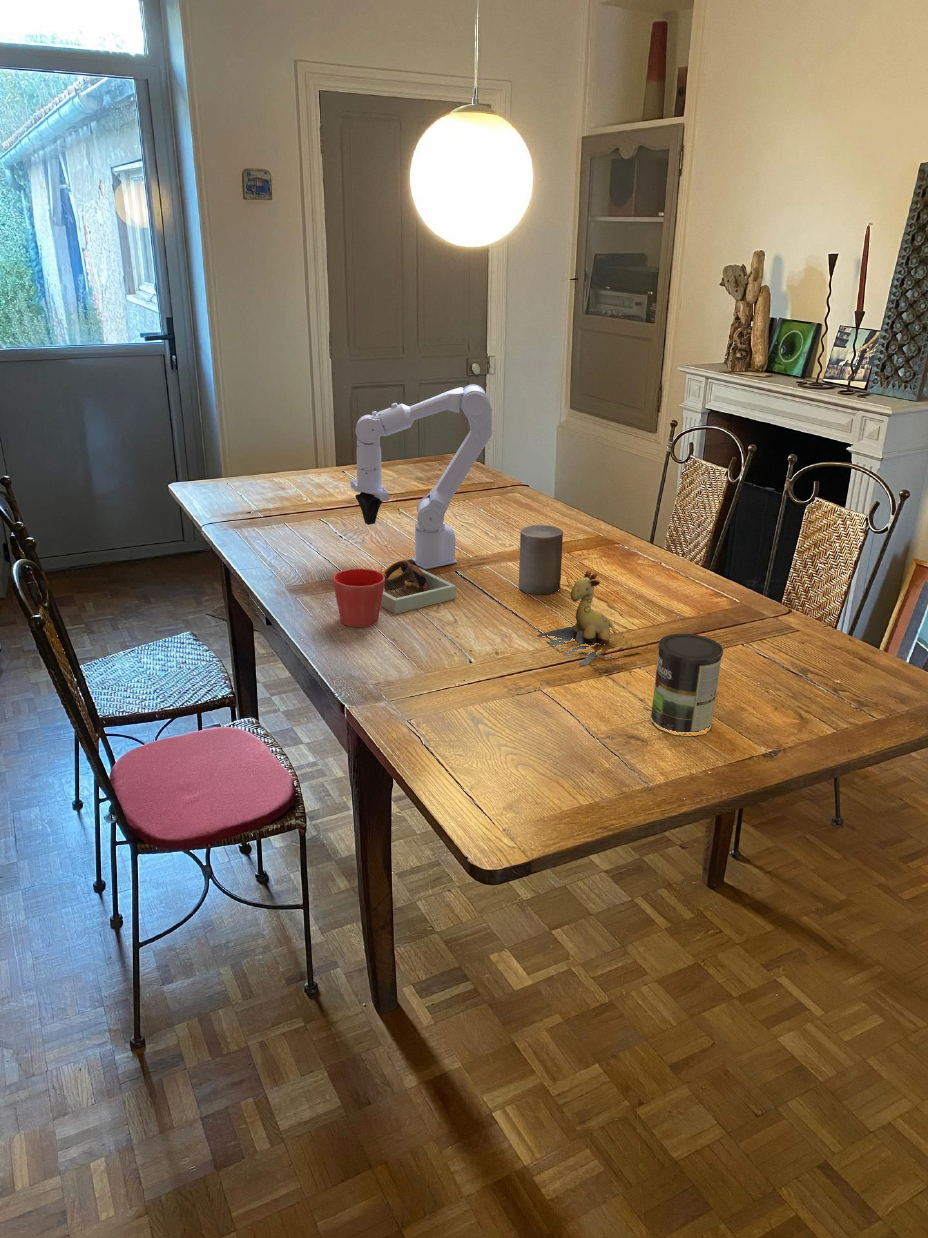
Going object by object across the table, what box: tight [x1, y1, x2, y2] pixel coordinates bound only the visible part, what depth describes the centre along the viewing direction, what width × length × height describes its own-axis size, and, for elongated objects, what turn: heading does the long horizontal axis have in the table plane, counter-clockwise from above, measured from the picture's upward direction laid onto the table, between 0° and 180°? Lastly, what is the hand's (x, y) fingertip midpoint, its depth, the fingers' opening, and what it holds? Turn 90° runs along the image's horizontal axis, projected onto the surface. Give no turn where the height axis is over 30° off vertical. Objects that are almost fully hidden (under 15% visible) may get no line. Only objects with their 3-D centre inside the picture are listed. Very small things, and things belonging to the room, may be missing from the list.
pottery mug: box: [383, 558, 430, 592], centre depth 212 cm, size 12×10×8 cm
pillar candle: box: [518, 524, 564, 596], centre depth 213 cm, size 10×10×15 cm
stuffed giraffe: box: [536, 569, 617, 667], centre depth 185 cm, size 16×18×16 cm
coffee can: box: [650, 633, 724, 732], centre depth 156 cm, size 10×10×14 cm
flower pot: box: [332, 568, 386, 628], centre depth 194 cm, size 11×11×10 cm
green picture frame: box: [381, 567, 457, 615], centre depth 210 cm, size 16×17×3 cm
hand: (370, 523), depth 226 cm, fingers closed
